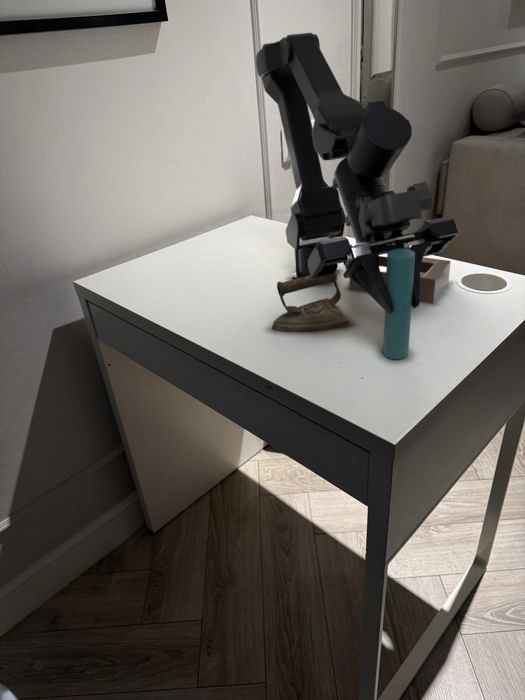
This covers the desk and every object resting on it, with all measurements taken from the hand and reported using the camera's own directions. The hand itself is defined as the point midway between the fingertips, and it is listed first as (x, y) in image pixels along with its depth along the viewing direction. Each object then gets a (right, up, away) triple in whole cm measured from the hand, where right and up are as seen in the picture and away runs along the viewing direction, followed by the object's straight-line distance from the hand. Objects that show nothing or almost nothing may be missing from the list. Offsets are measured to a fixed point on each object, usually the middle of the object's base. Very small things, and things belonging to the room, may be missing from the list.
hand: (403, 309), depth 64 cm
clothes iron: (-11, -1, +15) cm, 18 cm away
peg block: (+5, +6, +22) cm, 24 cm away
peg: (0, -5, +5) cm, 7 cm away
